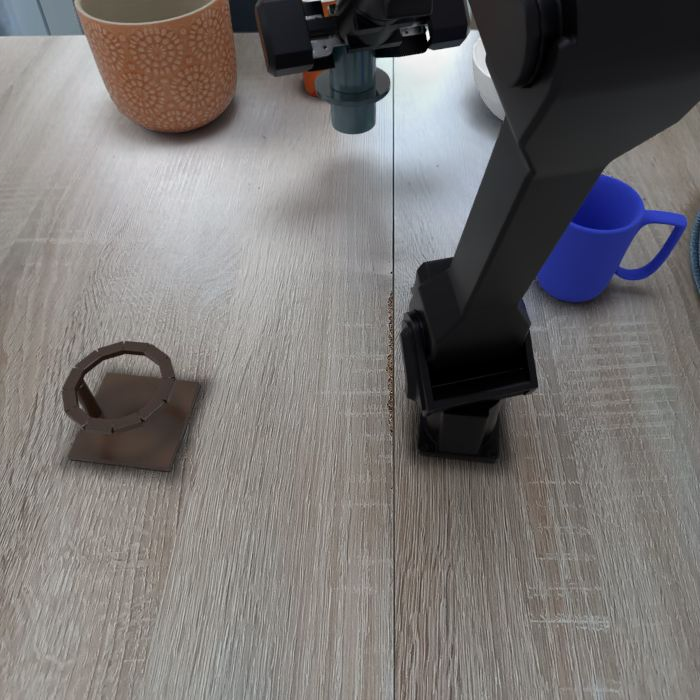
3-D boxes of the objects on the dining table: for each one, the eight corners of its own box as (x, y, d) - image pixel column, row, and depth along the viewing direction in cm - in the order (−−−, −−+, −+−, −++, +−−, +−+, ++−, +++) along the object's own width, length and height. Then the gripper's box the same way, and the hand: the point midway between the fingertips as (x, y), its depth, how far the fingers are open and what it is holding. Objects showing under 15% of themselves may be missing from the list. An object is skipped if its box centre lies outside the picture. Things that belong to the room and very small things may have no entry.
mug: (656, 323, 61) (698, 242, 53) (525, 306, 63) (546, 226, 55) (649, 263, 66) (687, 181, 58) (527, 249, 68) (548, 167, 60)
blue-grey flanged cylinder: (394, 139, 68) (397, 38, 60) (320, 145, 68) (312, 45, 60) (384, 100, 73) (385, 2, 65) (315, 106, 73) (308, 8, 65)
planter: (224, 154, 80) (197, 28, 68) (93, 143, 82) (46, 20, 70) (260, 82, 90) (243, -38, 78) (144, 74, 92) (110, -44, 81)
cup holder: (170, 471, 53) (152, 436, 48) (69, 459, 54) (43, 423, 49) (200, 385, 58) (187, 346, 54) (108, 375, 59) (88, 336, 55)
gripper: (473, -139, 52) (419, -38, 67) (240, -111, 49) (239, -12, 64) (500, 5, 53) (440, 72, 68) (274, 42, 50) (265, 103, 65)
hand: (348, 56), depth 67 cm, fingers closed on blue-grey flanged cylinder, 5 cm apart
